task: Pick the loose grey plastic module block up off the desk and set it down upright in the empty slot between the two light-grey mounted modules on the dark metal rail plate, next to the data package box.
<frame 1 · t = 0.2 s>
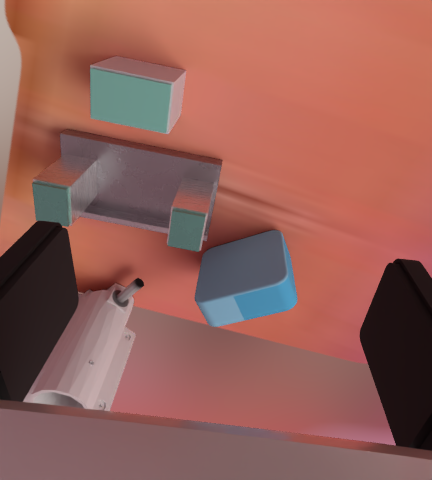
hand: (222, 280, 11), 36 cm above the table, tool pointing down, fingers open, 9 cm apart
rail: (142, 180, 49), on the table
data package: (245, 249, 54), on the table
module: (149, 86, 42), on the table
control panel: (110, 299, 61), on the table
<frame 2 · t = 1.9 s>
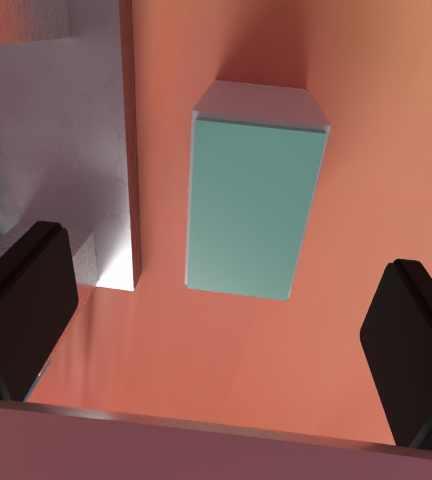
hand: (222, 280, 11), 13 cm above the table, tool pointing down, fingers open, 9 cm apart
rail: (57, 134, 22), on the table
module: (250, 155, 22), on the table
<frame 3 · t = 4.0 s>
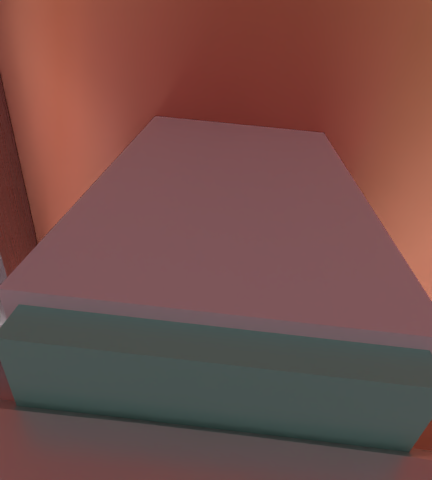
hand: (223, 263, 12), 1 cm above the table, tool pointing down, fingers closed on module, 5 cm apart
module: (226, 238, 13), on the table, touching gripper
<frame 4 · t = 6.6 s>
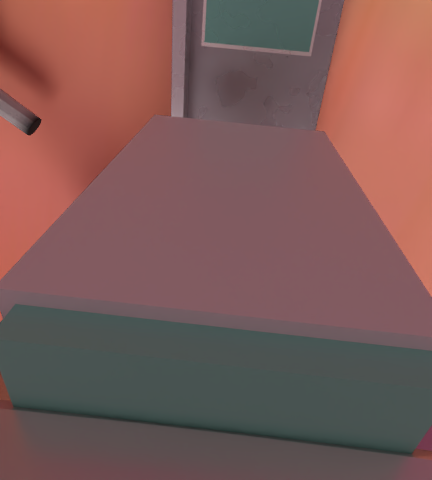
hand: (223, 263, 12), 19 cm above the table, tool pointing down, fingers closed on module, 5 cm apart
rail: (245, 120, 28), on the table
module: (226, 238, 13), point 18 cm above the table, touching gripper
when the fingers open (5 cm above the table, at t = 9.4 s): module drops 1 cm, resting on rail.
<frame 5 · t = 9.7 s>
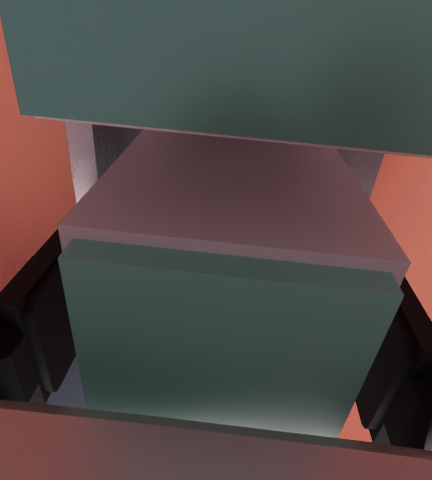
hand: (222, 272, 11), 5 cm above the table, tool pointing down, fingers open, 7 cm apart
rail: (230, 197, 16), on the table
data package: (90, 396, 25), on the table
module: (229, 219, 14), point 2 cm above the table, touching rail
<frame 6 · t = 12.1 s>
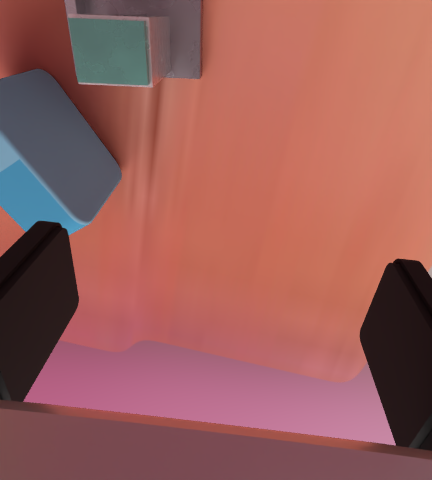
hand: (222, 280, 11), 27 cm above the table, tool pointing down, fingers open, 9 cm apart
data package: (72, 134, 37), on the table
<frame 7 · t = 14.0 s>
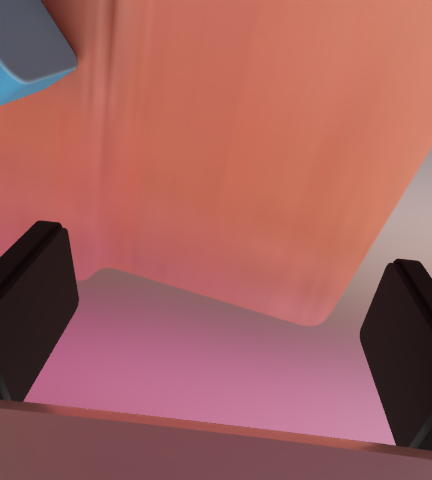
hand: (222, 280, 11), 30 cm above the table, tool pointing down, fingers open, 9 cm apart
data package: (26, 15, 34), on the table
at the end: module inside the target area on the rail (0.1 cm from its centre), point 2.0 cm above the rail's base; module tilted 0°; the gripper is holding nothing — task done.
